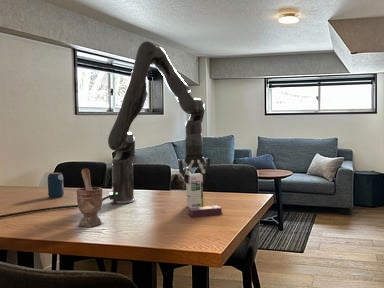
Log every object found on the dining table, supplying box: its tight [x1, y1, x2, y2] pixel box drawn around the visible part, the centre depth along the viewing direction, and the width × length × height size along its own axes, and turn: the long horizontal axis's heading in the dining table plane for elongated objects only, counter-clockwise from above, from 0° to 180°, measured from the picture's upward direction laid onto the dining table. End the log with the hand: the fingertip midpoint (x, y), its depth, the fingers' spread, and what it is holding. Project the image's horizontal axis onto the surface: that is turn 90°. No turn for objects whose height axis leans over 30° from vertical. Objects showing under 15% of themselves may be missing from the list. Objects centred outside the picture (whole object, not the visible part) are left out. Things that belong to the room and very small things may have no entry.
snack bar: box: [188, 205, 222, 218], centre depth 154 cm, size 12×5×3 cm, turn 115°
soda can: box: [47, 171, 65, 199], centre depth 192 cm, size 7×7×12 cm
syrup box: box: [185, 172, 204, 209], centre depth 167 cm, size 6×6×14 cm
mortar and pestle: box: [76, 167, 103, 228], centre depth 140 cm, size 12×9×20 cm
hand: (194, 182), depth 167 cm, fingers open, 6 cm apart
